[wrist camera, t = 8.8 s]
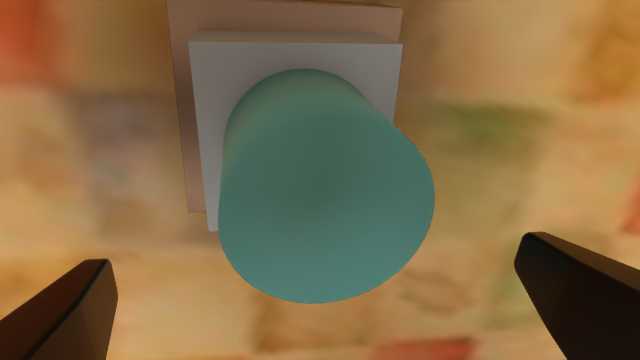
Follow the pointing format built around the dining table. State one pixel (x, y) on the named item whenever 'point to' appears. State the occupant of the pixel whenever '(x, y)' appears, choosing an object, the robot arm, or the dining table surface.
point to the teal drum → (319, 190)
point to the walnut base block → (254, 15)
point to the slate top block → (270, 58)
